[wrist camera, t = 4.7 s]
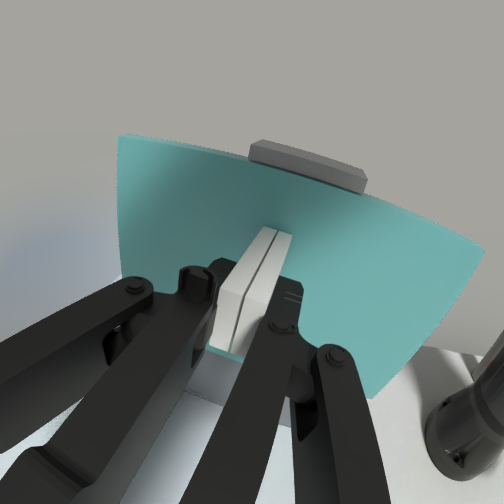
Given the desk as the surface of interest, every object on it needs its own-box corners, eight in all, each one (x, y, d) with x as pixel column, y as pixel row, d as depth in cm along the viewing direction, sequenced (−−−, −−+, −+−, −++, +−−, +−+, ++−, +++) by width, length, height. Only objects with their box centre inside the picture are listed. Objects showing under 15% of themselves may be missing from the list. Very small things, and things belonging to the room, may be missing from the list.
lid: (474, 220, 13) (491, 238, 11) (371, 376, 22) (371, 398, 20) (143, 118, 16) (119, 122, 14) (142, 297, 25) (127, 313, 23)
